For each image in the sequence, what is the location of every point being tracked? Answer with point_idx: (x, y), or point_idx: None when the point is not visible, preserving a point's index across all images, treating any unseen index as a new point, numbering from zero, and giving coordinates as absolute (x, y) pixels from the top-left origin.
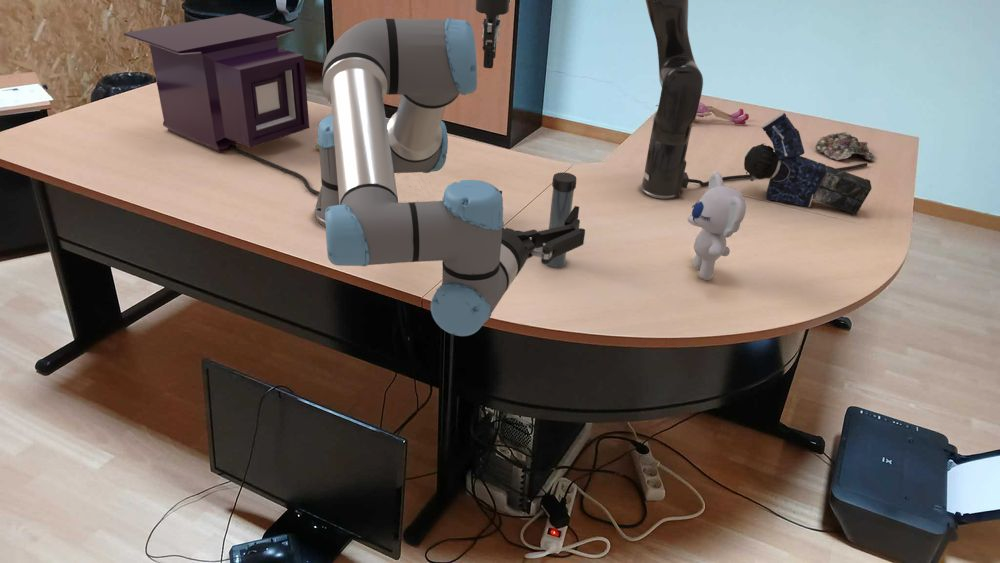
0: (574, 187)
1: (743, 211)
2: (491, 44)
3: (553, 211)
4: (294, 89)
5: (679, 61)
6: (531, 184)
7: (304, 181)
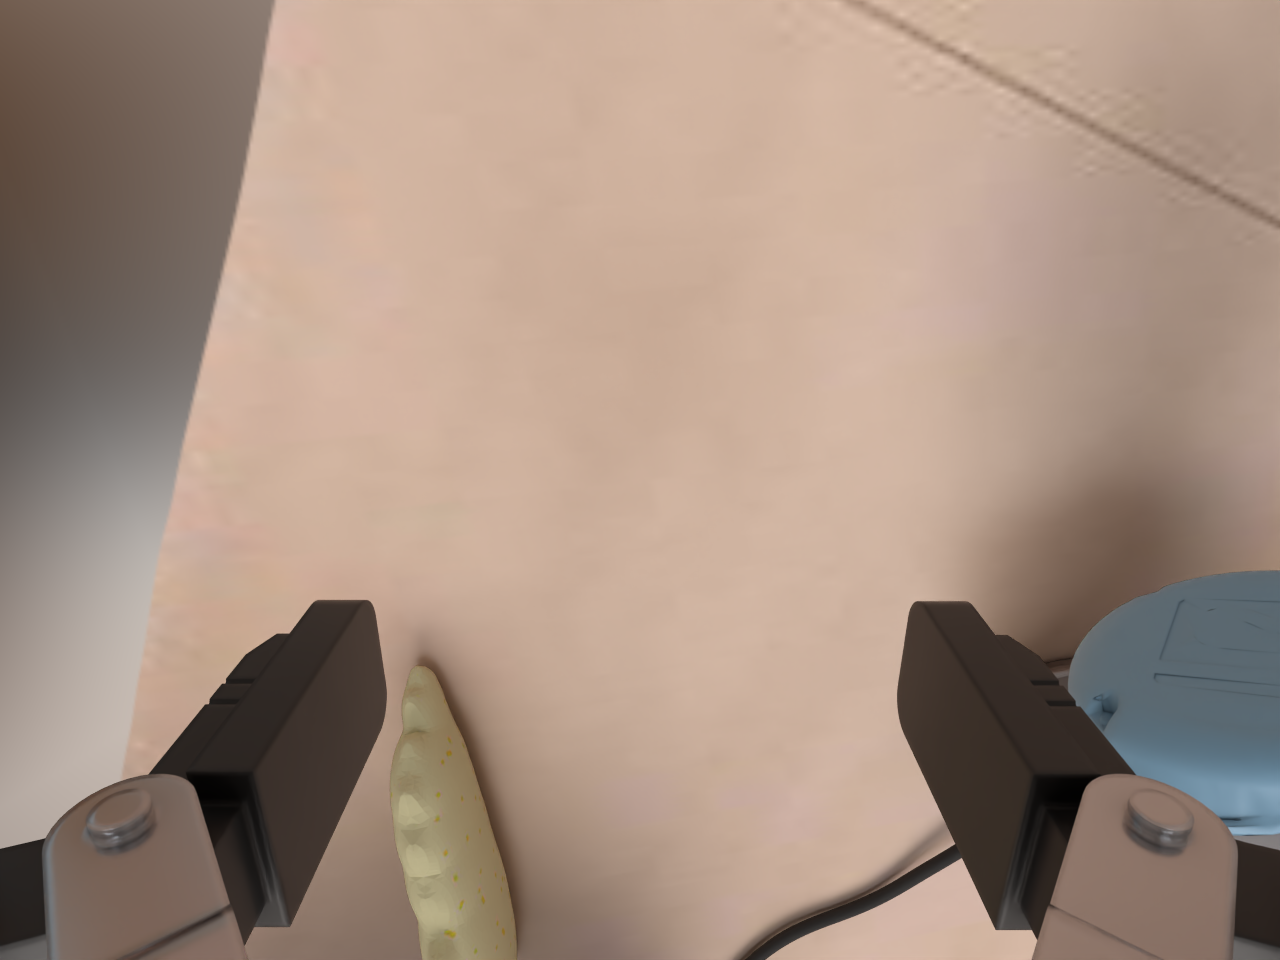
0: None
1: None
2: (288, 820)
3: None
4: None
5: None
6: (675, 32)
7: (818, 929)
